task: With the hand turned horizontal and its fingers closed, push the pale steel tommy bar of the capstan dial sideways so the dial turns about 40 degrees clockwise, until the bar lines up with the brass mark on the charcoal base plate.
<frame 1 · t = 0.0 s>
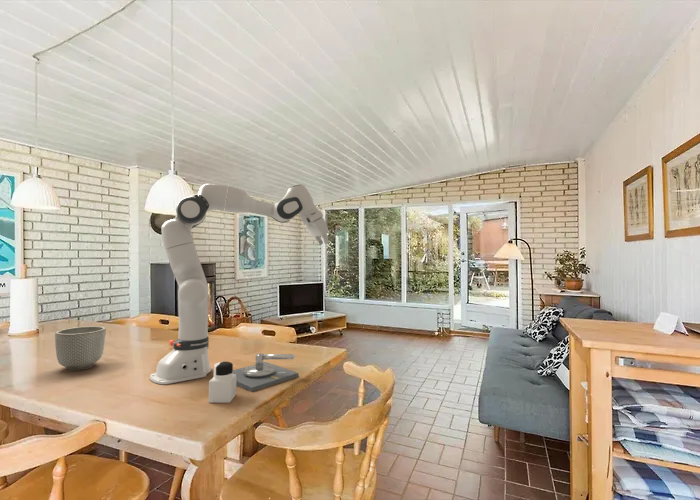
hand: (324, 243, 169), 54 cm above the table, tool tilted 30°, fingers open, 8 cm apart
medicine bottle: (222, 399, 121), on the table
base plate: (259, 377, 143), on the table
planter: (80, 368, 152), on the table
capstan dial: (261, 363, 143), point 5 cm above the table, hinge at 0.0°
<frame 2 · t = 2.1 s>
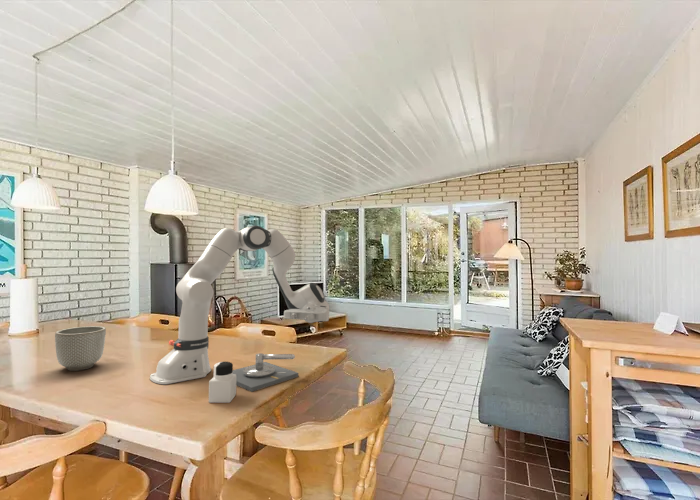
hand: (299, 317, 154), 22 cm above the table, tool horizontal, fingers open, 5 cm apart
nothing on the table moved.
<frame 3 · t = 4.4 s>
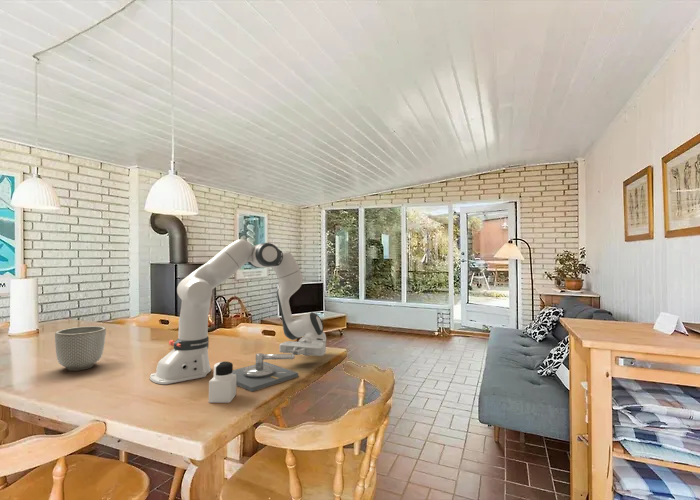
hand: (295, 353, 151), 8 cm above the table, tool horizontal, fingers closed
nothing on the table moved.
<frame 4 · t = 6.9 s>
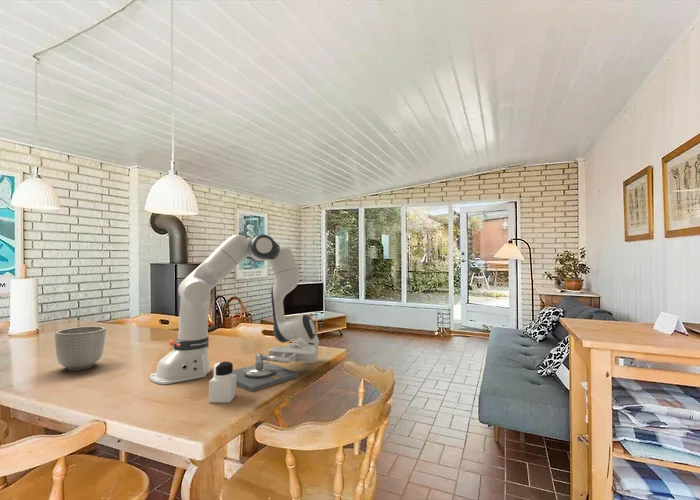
hand: (285, 359, 141), 8 cm above the table, tool horizontal, fingers closed, pressing on capstan dial
capstan dial: (261, 363, 143), point 5 cm above the table, hinge at -24.8°, touching gripper
everything else where it was.
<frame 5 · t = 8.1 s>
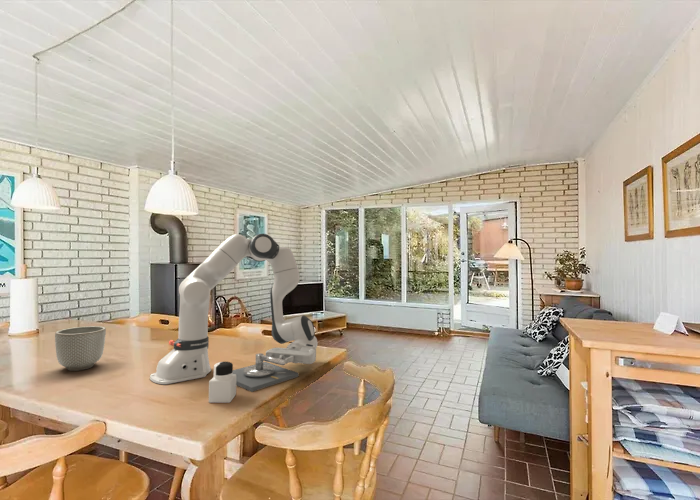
hand: (282, 361, 138), 8 cm above the table, tool horizontal, fingers closed
capstan dial: (261, 363, 143), point 5 cm above the table, hinge at -38.5°, touching gripper
everything else where it was.
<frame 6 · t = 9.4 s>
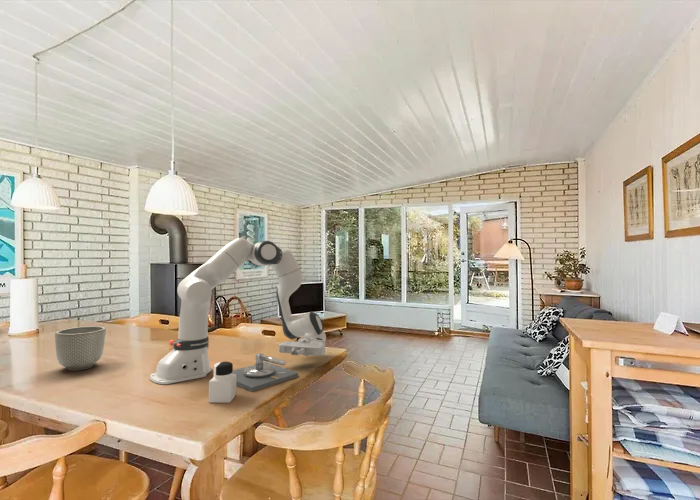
hand: (294, 353, 149), 8 cm above the table, tool horizontal, fingers closed
capstan dial: (261, 363, 143), point 5 cm above the table, hinge at -38.5°
everything else where it was.
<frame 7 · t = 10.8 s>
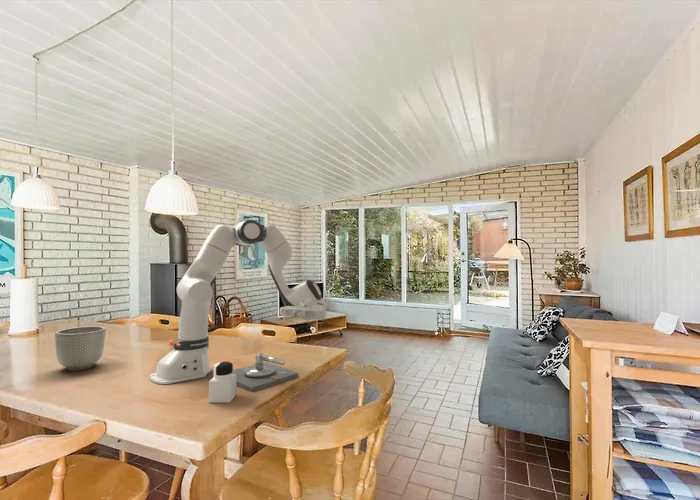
hand: (295, 315, 150), 24 cm above the table, tool horizontal, fingers closed
nothing on the table moved.
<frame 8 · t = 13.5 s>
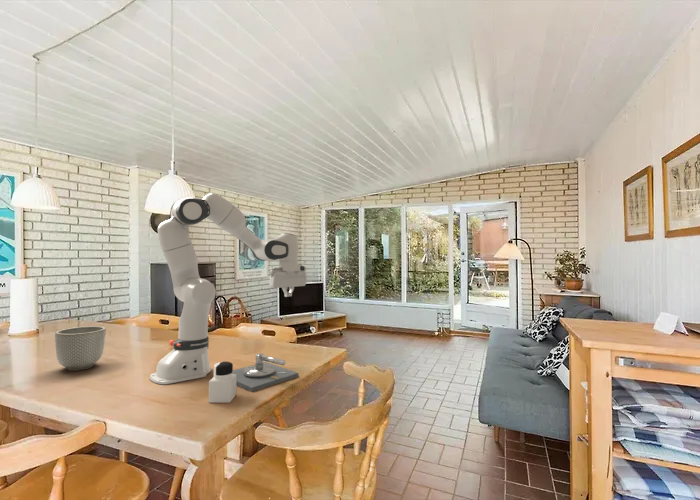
hand: (288, 296, 171), 29 cm above the table, tool pointing down, fingers closed
nothing on the table moved.
at the end: capstan dial at -38° (first picture: +0°); medicine bottle moved 0.2 cm from its start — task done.
